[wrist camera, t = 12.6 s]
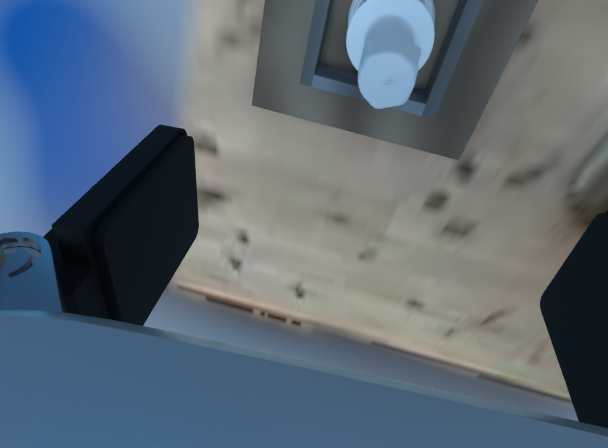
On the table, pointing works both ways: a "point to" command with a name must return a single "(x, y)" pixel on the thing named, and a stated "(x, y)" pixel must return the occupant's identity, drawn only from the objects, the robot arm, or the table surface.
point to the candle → (389, 46)
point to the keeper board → (429, 82)
